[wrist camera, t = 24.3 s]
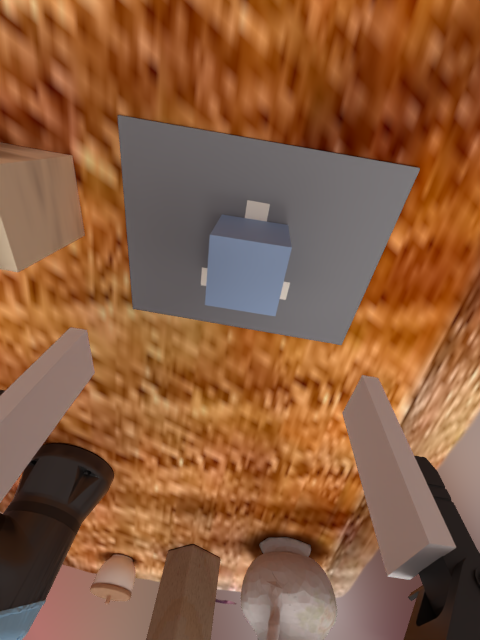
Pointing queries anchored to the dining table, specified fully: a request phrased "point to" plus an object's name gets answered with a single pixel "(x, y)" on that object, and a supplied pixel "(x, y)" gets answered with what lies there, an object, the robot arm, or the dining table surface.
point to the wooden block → (185, 596)
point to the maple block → (36, 205)
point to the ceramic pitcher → (287, 593)
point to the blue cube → (247, 264)
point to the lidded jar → (115, 579)
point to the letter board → (259, 204)
